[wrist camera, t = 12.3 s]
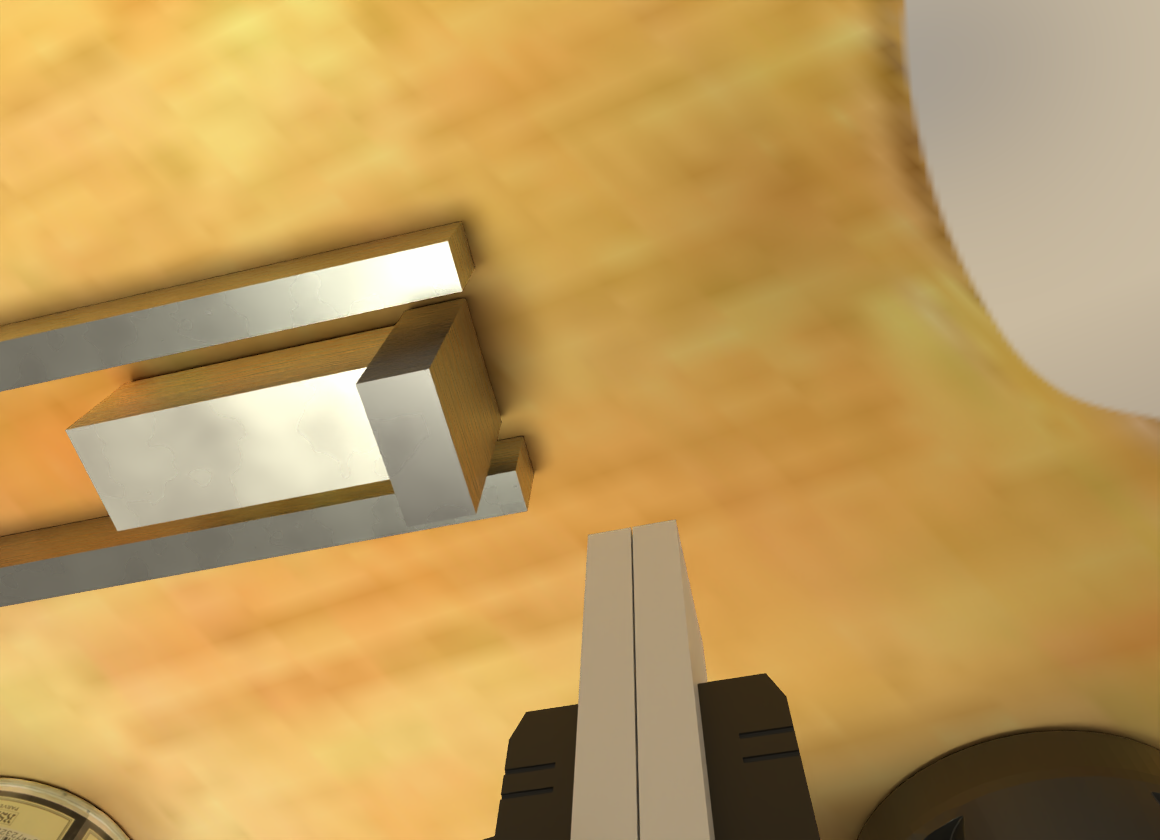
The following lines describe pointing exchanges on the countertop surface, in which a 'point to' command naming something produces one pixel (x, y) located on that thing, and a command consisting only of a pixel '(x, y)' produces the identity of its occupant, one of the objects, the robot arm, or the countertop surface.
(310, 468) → the silver metal slider block
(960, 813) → the robot arm
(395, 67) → the countertop surface
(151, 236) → the countertop surface
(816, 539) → the countertop surface
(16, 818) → the coffee can
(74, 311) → the channel
